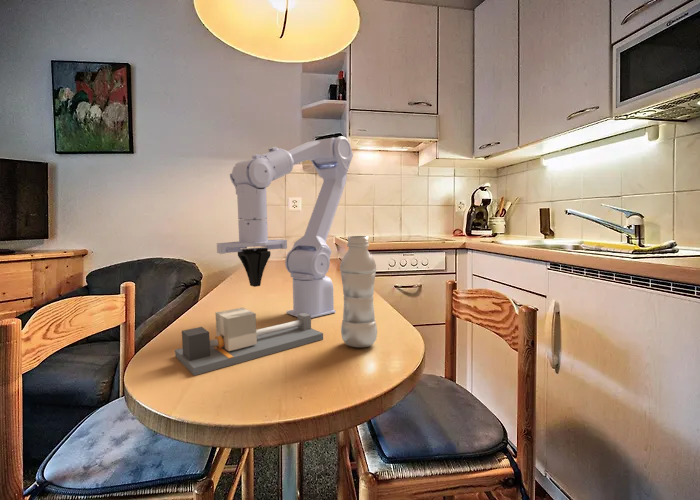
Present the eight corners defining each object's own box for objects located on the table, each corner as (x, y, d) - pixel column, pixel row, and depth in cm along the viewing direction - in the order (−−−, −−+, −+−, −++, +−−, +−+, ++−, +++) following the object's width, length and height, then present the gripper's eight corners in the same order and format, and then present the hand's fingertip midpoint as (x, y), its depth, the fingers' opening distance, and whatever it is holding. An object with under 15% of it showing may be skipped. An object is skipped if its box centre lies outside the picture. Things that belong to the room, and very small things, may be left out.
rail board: (295, 327, 78) (295, 303, 77) (323, 339, 70) (322, 312, 69) (175, 356, 62) (173, 326, 62) (194, 375, 55) (192, 342, 54)
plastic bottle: (366, 354, 62) (365, 238, 60) (333, 347, 66) (332, 237, 64) (383, 343, 68) (383, 235, 66) (352, 337, 71) (351, 235, 69)
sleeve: (243, 336, 68) (242, 307, 67) (256, 344, 63) (255, 313, 63) (216, 342, 64) (215, 312, 64) (228, 351, 60) (227, 318, 60)
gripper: (225, 220, 66) (228, 293, 67) (293, 219, 75) (295, 283, 77) (211, 220, 72) (214, 288, 73) (277, 219, 81) (278, 279, 82)
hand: (255, 285), depth 75 cm, fingers closed
